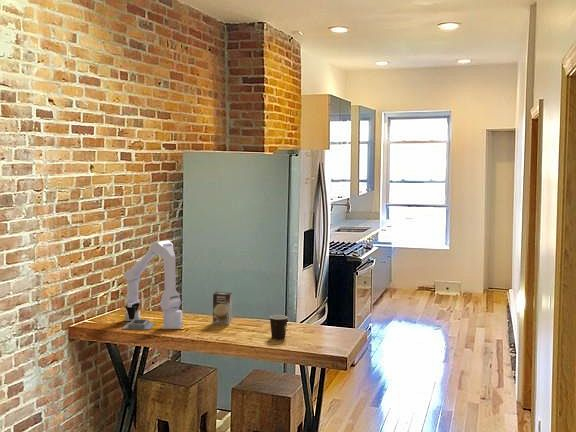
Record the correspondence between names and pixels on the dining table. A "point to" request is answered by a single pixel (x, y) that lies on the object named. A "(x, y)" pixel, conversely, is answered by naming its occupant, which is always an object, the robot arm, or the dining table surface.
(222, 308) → the coffee box
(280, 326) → the coffee mug
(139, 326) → the slot holder
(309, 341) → the dining table surface
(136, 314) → the steel block
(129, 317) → the robot arm
